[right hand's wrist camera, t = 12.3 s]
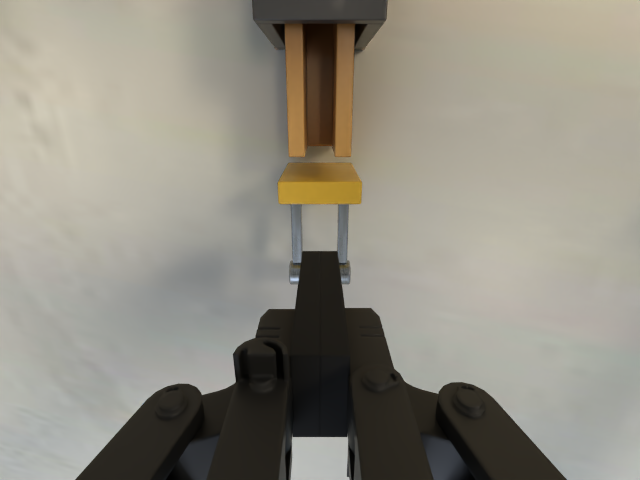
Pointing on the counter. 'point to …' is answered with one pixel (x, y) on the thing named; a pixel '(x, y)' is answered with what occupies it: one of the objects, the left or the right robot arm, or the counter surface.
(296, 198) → the drawer
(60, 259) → the counter surface
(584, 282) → the counter surface
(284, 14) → the dark grey box
